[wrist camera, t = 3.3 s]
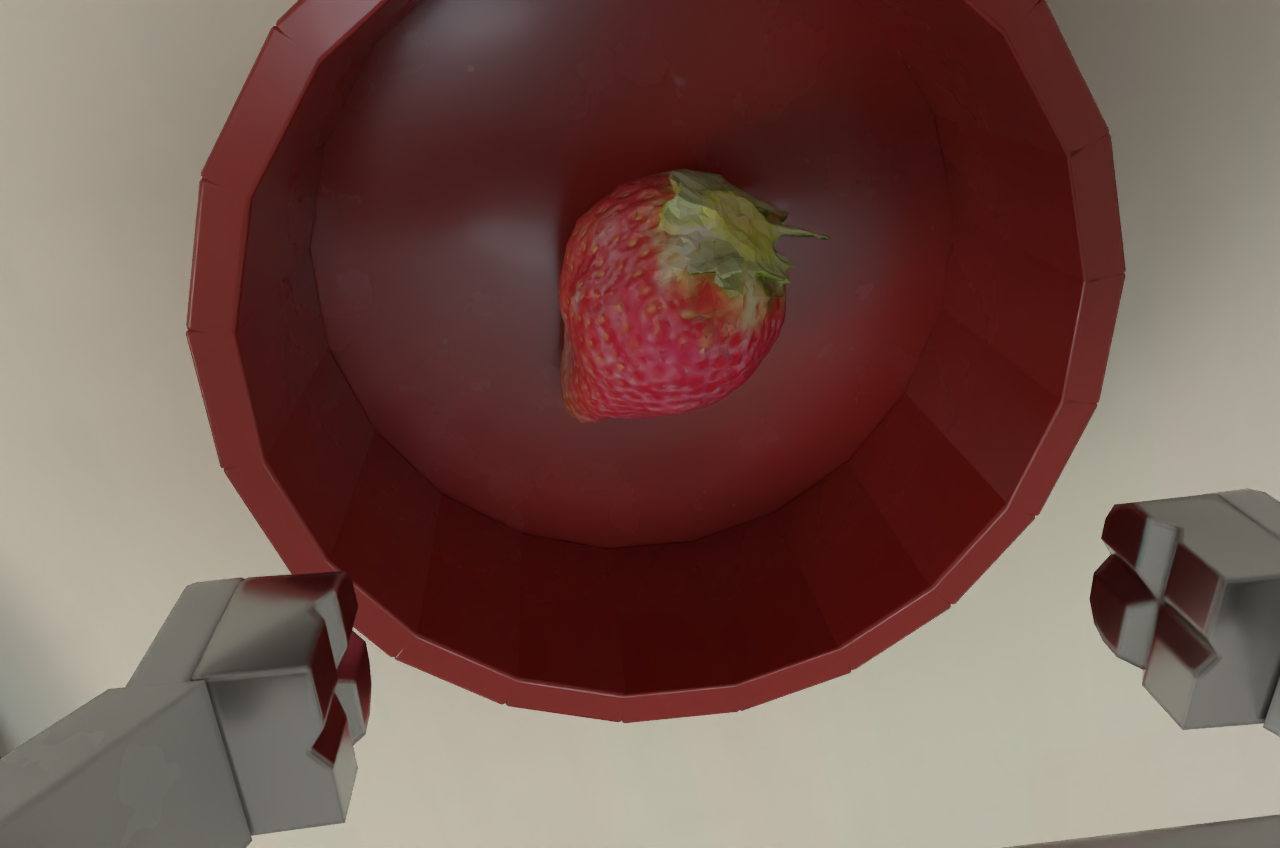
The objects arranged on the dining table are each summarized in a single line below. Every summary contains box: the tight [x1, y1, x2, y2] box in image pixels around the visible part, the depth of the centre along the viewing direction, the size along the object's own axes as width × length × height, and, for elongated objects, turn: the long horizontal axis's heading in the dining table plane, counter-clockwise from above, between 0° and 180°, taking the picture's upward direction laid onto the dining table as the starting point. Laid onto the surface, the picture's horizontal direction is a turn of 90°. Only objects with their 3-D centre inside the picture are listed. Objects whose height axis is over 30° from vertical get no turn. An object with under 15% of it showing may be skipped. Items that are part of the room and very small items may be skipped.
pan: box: [186, 0, 1126, 723], centre depth 17 cm, size 14×14×5 cm
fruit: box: [559, 169, 830, 423], centre depth 17 cm, size 4×6×5 cm
